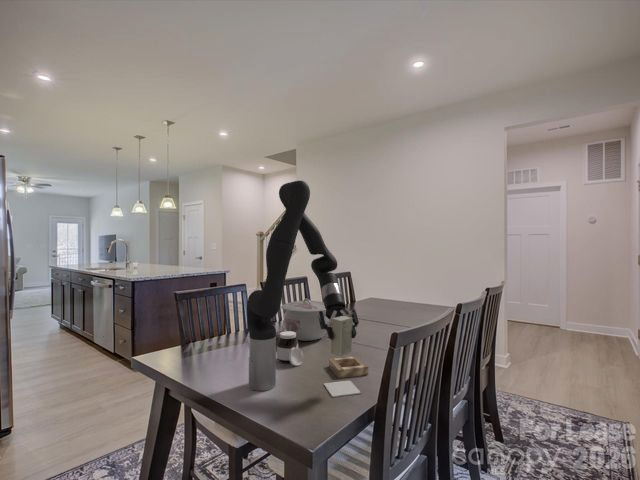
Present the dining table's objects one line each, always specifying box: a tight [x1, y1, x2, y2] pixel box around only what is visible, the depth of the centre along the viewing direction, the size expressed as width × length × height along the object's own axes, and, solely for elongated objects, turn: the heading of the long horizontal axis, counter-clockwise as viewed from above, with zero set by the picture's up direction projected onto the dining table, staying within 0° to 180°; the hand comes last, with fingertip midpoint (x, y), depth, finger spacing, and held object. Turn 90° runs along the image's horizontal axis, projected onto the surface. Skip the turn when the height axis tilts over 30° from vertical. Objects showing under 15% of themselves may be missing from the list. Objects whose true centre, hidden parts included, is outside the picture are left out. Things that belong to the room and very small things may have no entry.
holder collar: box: [328, 355, 369, 379], centre depth 130 cm, size 12×12×3 cm
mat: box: [323, 380, 362, 398], centre depth 114 cm, size 10×10×1 cm
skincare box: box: [330, 316, 353, 357], centre depth 114 cm, size 6×4×12 cm
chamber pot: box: [280, 298, 330, 342], centre depth 175 cm, size 28×28×21 cm
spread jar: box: [276, 330, 304, 367], centre depth 139 cm, size 12×11×12 cm
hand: (343, 337), depth 113 cm, fingers closed on skincare box, 7 cm apart
